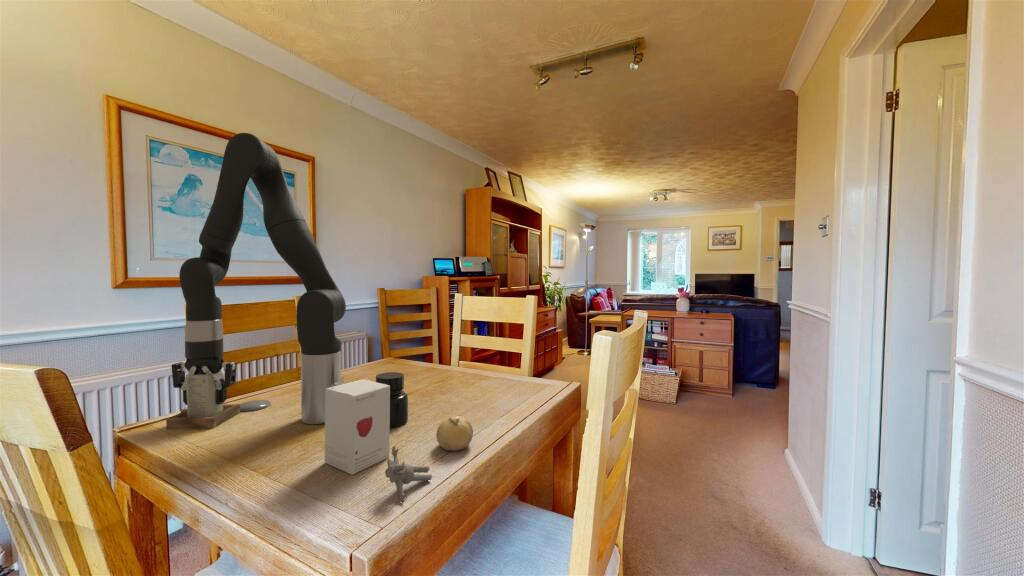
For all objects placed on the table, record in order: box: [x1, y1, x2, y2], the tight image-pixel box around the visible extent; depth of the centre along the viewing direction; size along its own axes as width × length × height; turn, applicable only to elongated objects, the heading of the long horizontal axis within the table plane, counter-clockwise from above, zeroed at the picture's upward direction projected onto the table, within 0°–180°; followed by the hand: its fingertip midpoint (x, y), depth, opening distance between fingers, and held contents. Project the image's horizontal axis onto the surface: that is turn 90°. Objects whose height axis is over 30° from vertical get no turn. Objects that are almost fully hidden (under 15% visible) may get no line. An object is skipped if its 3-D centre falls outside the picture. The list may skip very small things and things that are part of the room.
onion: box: [435, 415, 474, 451], centre depth 84 cm, size 8×8×7 cm
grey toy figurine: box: [384, 445, 433, 504], centre depth 67 cm, size 10×6×9 cm
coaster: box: [239, 399, 271, 413], centre depth 107 cm, size 8×8×1 cm
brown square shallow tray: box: [165, 403, 241, 430], centre depth 97 cm, size 10×10×3 cm
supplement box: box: [324, 378, 391, 476], centre depth 77 cm, size 9×9×15 cm
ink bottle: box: [375, 371, 409, 429], centre depth 97 cm, size 10×9×12 cm
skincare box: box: [185, 370, 224, 417], centre depth 96 cm, size 6×4×12 cm
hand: (205, 403), depth 97 cm, fingers closed on skincare box, 6 cm apart
